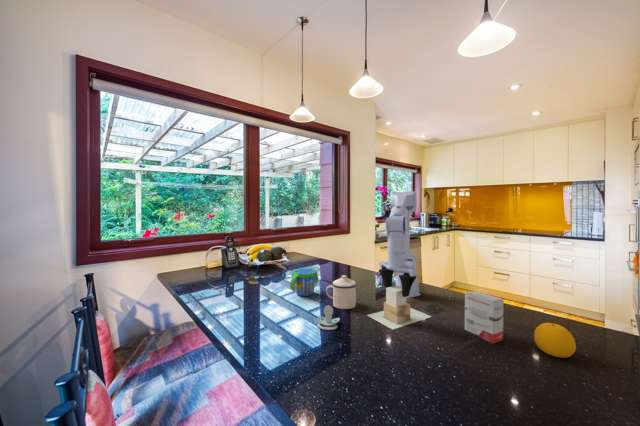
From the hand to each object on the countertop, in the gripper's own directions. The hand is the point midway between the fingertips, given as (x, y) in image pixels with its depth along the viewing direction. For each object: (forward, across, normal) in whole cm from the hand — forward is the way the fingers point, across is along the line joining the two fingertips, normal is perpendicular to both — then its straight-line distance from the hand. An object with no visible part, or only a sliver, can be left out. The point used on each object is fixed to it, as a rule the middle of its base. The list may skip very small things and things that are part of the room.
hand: (396, 292), depth 85 cm
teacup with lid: (+9, -20, -9) cm, 24 cm away
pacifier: (+9, -8, -22) cm, 25 cm away
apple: (+9, +34, +20) cm, 41 cm away
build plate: (+9, -1, +2) cm, 9 cm away
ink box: (+9, +20, +14) cm, 26 cm away
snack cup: (+9, -39, -15) cm, 43 cm away
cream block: (+3, 0, 0) cm, 4 cm away
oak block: (+8, 0, 0) cm, 9 cm away
